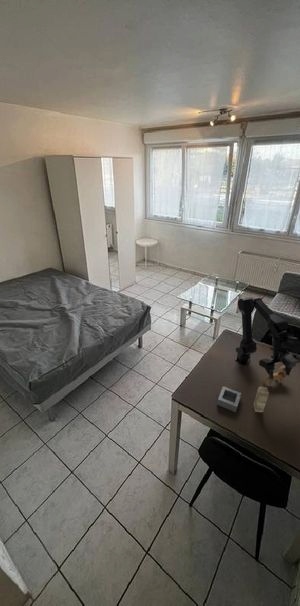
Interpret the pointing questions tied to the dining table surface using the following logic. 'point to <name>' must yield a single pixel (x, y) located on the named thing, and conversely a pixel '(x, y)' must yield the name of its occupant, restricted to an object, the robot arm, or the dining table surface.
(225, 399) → the end cap
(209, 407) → the dining table surface
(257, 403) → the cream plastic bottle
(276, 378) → the lion figurine
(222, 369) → the dining table surface
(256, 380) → the dining table surface
